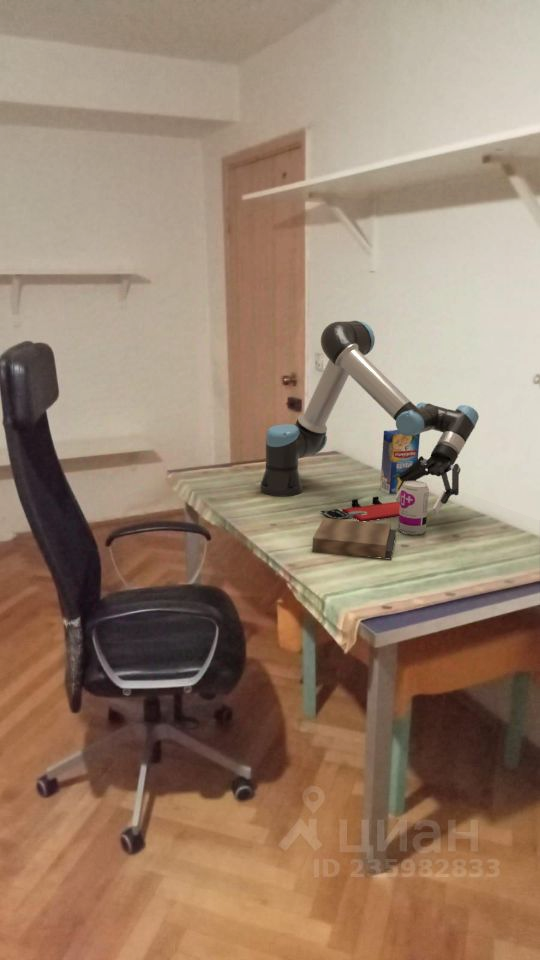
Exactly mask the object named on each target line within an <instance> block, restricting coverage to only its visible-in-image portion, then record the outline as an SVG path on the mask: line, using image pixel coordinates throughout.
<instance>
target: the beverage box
mask: <svg viewBox="0 0 540 960" xmlns="http://www.w3.org/2000/svg"><path fill="white" fill-rule="evenodd" d="M420 439H421V433H419V434H418V435H414V436H404V435H402V434H401V433H399V431H398V430H397V429H393V430H392V429H388V430H383V440H382V453H381V455H382V457H381V472H380V484H379V485H380V488H379V490H380V491H383V492H385V493H386V494H389V495H397V494H396V493H398V491H399V490H398V488H399V486H400V484H401V482H402V481H401V480H400V478H399V475H400V474H402V473H403V472H404V471H405V470H407V469H408V468H409V467H410V466H412V465H413V464H414V463H415V462H417V460H418V459H419V452H420V451H419V450H420ZM415 481H417V480H415Z"/></svg>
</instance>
